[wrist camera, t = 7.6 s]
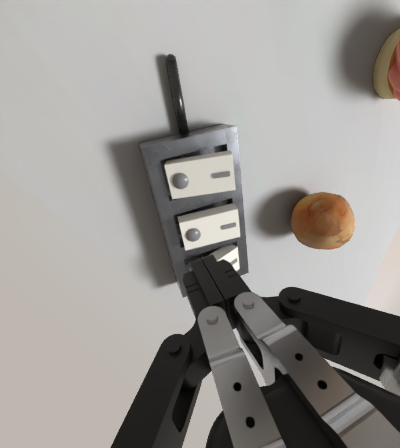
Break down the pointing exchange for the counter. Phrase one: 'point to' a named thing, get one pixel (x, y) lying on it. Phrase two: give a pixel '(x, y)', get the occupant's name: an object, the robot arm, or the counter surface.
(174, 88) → the power strip
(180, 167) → the rocker
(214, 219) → the rocker middle
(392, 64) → the cake
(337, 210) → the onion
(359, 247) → the counter surface
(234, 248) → the rocker
